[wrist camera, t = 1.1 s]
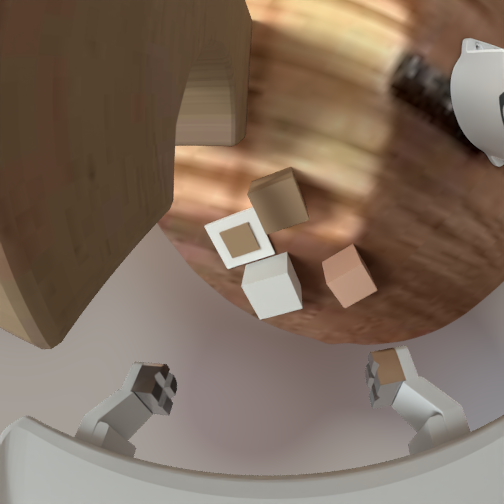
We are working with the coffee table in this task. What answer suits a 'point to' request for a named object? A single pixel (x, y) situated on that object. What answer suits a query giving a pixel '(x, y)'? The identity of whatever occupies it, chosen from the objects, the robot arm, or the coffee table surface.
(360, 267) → the terracotta cube
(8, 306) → the decorative block
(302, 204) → the walnut cube
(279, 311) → the base block
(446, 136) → the coffee table surface
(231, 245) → the card
